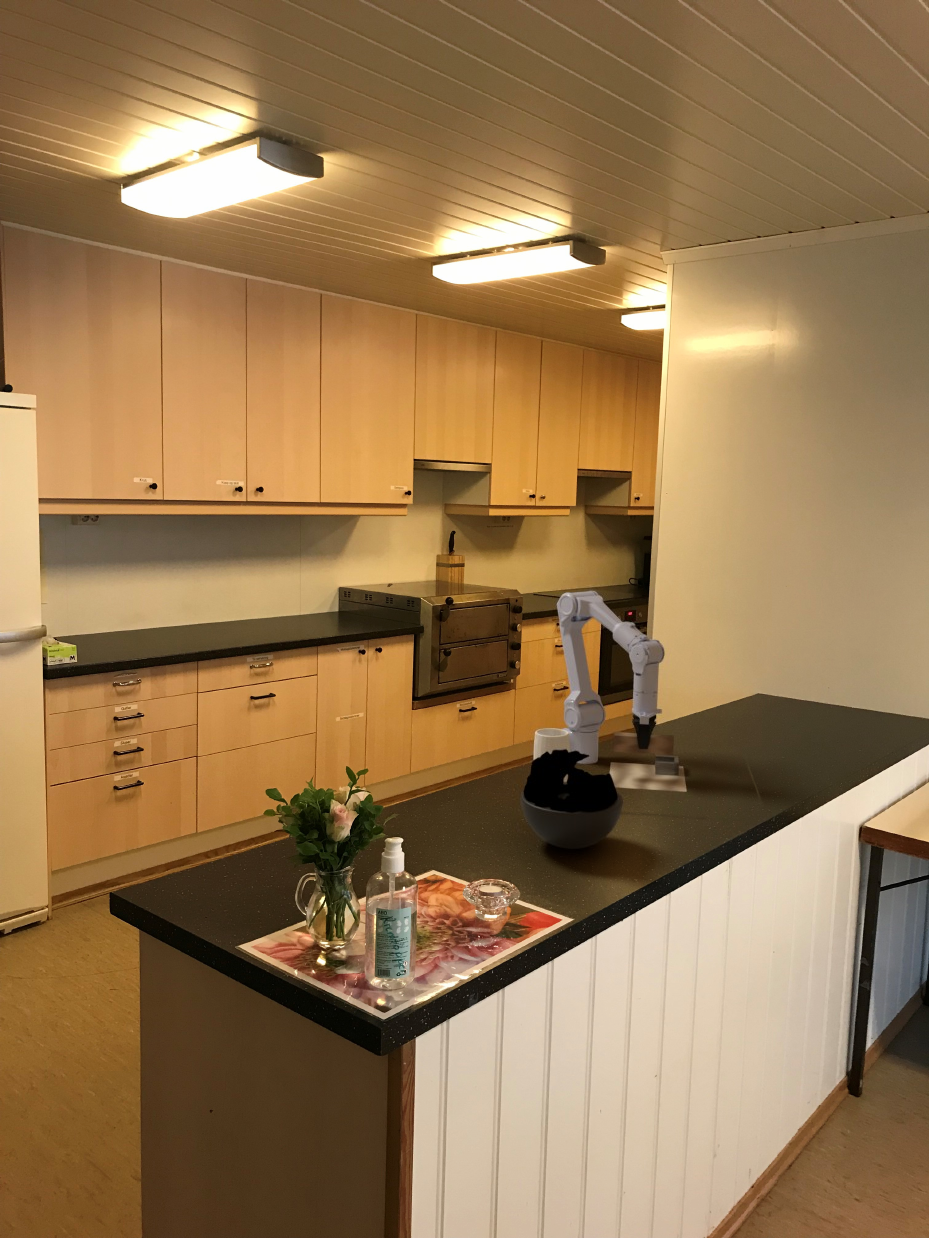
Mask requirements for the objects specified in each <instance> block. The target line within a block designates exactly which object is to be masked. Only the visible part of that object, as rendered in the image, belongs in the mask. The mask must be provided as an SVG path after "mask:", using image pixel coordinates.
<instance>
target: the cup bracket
mask: <svg viewBox="0 0 929 1238" xmlns="http://www.w3.org/2000/svg"><path fill="white" fill-rule="evenodd" d="M654 755H655V756H654V765H655V774H658V775H675V776H679V766H680V761H679V756H677V755H658V754H654Z"/></svg>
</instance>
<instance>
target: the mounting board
mask: <svg viewBox="0 0 929 1238" xmlns="http://www.w3.org/2000/svg"><path fill="white" fill-rule="evenodd" d="M609 774H611V776H612V779H613V782H614V785H615V788H617V789H618V788H620V789H632V790H633V789H635V790H649V791H650V790H651V791H652V790H653V791H666V792H667V791H668V792H681V793H683V792H685V793H687V785H686V777H685V776H686V775H685V769H684V766H681V765H679V776H675V775H658V774H655V764H647V763H645V764H644V763H643V764H642V763H632V762H631V763H628V762H613V761H611V762H610V768H609Z"/></svg>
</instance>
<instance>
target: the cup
mask: <svg viewBox="0 0 929 1238" xmlns="http://www.w3.org/2000/svg"><path fill="white" fill-rule="evenodd" d="M563 749H567V750H568V752H570V740H569V732H568V731H566V730H563V728H553V727H552V728H551V727H550V728H549V727H547V728H540V729H537V730H536V731H535V732H534V742H533V760H535V759H536V758H538V757H540V756H541V755H542V754H544V753H545V752H549V753H550V754H551V753H552V751H553V750H563ZM567 779H568V774H567V775H566V776H565V778H564V782H567Z"/></svg>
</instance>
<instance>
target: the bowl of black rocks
mask: <svg viewBox="0 0 929 1238" xmlns="http://www.w3.org/2000/svg"><path fill="white" fill-rule="evenodd" d="M587 757H589V755H586V754H581V753H580V752H579V751H571V752H568V750H567V749H563V750H553V751H552V753H551V754H550V753H549V752H545V753H544V754H542V755H541V756H540V757H538V758H536V759H535V760H534V759H533V760H532V762H531V767H530V772H529V775H528V776H527V777H526V784H525V785H524V787H523V790H522V792H521V795H520V805H521V810H522V813H523V816H524V818H525V821H526V822H527V824H528V825H529V827H530V828H531V829H532V831H533V832H534V833H535V834H536V835H537V836H538V837H539V838H540V839H541V840H543V841H545V842H546V843H548V844H550V845H552V846H555V847H558V848H560V849H567V850H568V849H569V850H578V849H584V848H588V847H591V846H593V845H595V844H597V843H600V842H601V841H602V840H604V839H605V838H606V837H607V836H608V835H610V833H611V832H612V831H613V829H614V828H615V826H616V825H617V823H618V821H619V819H620V817H621V813H622V812H623V811H622V810H623V806H624V805H623V804H624V798H623V796H621V795H620V793H618V791H617V789H616V788H617V787H615V785H614V782H613V779H612V776H611V774H610V772H609V773H607V774H590V773H589V772H588V771H585V770H584V769H582V768H581V769H580V768H577V767H576V765H577V764H578V763H577V762H578V761H581V760H583V759H585V758H587ZM567 774H568V779H567V782H564V778H565V776H566V775H567Z"/></svg>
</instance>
